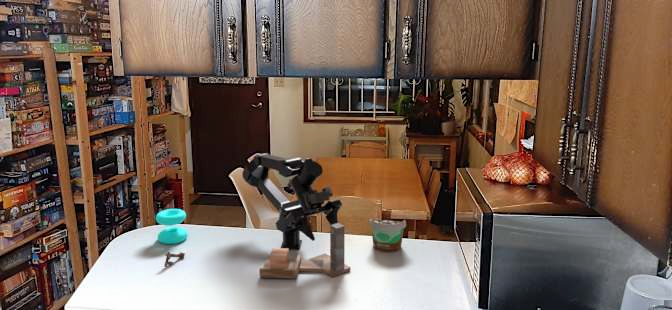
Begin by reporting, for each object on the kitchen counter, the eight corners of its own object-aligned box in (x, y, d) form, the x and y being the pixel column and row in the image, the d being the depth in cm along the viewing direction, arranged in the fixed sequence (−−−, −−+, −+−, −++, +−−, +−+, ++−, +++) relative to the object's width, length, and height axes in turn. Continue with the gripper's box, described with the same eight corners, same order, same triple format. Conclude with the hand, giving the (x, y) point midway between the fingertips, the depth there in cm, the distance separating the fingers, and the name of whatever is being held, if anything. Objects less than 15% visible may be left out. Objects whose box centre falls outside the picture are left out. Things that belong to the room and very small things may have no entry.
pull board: (245, 269, 154) (243, 223, 150) (310, 247, 169) (309, 205, 165) (283, 296, 138) (281, 246, 135) (350, 270, 153) (350, 224, 149)
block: (273, 263, 156) (272, 248, 154) (289, 263, 155) (288, 248, 154) (270, 270, 151) (269, 255, 150) (286, 271, 151) (286, 255, 149)
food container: (366, 252, 166) (367, 223, 163) (369, 244, 172) (369, 216, 169) (404, 255, 164) (405, 226, 161) (405, 247, 169) (406, 219, 167)
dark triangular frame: (160, 266, 155) (163, 251, 155) (177, 265, 162) (180, 251, 163) (165, 267, 154) (168, 252, 155) (182, 266, 161) (185, 252, 162)
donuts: (184, 206, 180) (186, 215, 171) (187, 232, 182) (188, 243, 173) (155, 209, 177) (155, 219, 167) (157, 236, 179) (158, 247, 170)
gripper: (289, 185, 148) (312, 232, 143) (338, 174, 160) (361, 217, 154) (276, 203, 156) (297, 248, 151) (323, 191, 168) (344, 232, 162)
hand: (326, 236), depth 154 cm, fingers open, 9 cm apart
